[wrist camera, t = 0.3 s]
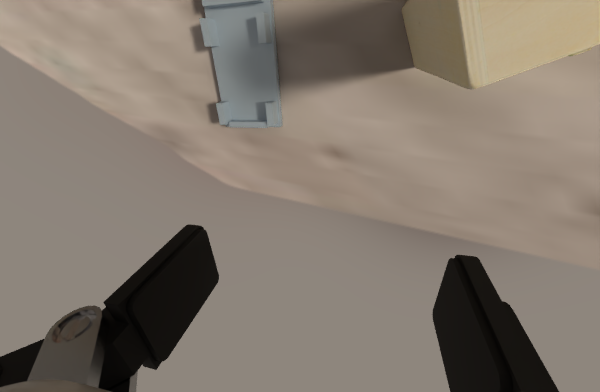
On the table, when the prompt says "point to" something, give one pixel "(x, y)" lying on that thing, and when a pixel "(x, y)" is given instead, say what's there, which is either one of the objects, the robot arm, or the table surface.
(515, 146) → the table surface
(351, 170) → the table surface
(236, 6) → the jig
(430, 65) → the toy refrigerator
